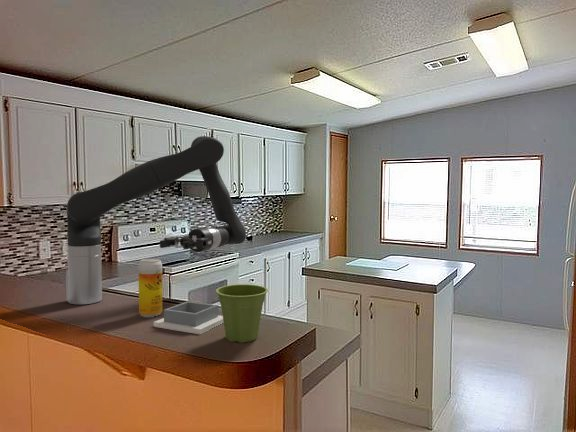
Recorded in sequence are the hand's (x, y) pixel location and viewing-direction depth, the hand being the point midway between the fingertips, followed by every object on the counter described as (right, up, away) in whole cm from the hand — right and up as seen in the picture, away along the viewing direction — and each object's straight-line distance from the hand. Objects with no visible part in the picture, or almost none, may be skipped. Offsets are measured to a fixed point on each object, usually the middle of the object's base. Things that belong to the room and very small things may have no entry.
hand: (172, 245), depth 129 cm
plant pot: (+23, -20, -28) cm, 41 cm away
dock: (+9, -19, -17) cm, 27 cm away
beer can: (-3, -19, -9) cm, 21 cm away
